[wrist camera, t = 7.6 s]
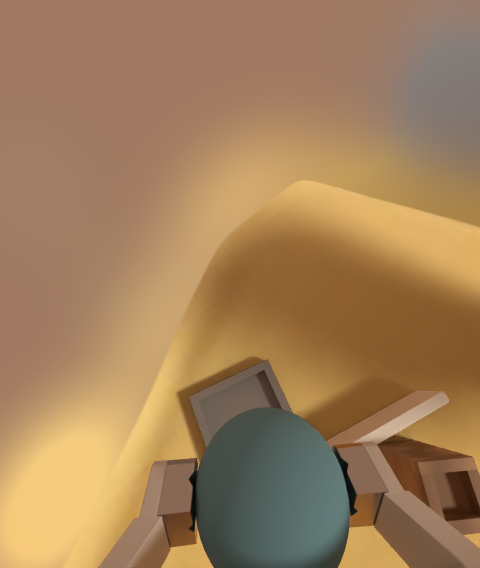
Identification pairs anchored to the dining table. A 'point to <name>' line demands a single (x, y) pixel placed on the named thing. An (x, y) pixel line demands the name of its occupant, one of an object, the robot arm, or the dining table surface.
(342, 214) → the dining table surface
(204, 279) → the dining table surface
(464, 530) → the stand
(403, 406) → the wooden wall
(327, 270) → the dining table surface
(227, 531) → the ball
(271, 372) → the tray
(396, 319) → the dining table surface
